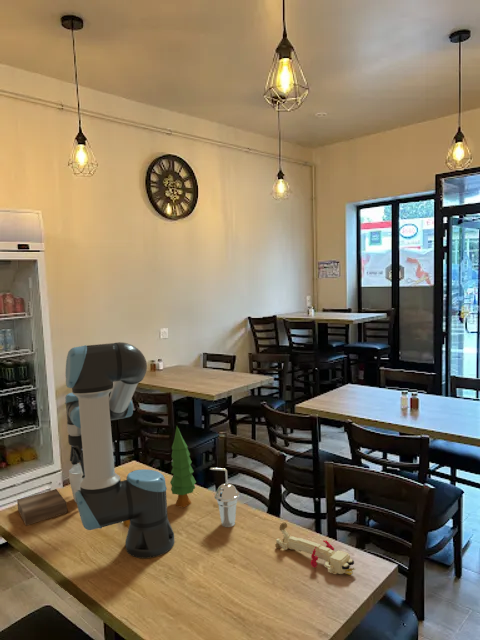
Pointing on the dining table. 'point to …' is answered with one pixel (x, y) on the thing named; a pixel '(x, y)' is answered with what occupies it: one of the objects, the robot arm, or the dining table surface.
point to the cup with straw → (226, 501)
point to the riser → (41, 506)
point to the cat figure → (317, 552)
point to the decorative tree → (181, 471)
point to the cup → (75, 479)
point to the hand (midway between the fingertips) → (82, 486)
